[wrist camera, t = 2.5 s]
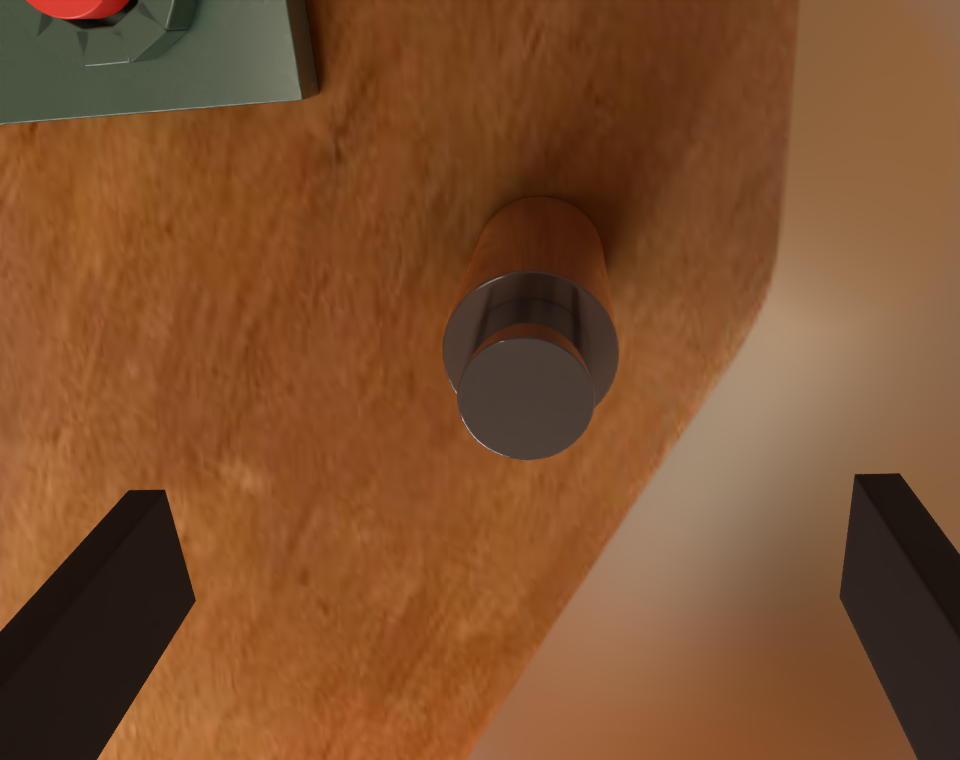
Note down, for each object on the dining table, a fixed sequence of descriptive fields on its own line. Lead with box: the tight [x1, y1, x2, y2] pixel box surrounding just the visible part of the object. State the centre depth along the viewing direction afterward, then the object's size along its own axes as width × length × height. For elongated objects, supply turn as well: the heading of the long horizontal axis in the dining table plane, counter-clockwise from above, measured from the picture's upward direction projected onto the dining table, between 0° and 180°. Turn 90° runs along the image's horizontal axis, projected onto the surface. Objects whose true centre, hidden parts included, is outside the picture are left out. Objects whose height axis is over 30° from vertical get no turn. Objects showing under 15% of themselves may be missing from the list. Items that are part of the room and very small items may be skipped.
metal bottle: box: [442, 197, 619, 460], centre depth 27 cm, size 5×5×13 cm
